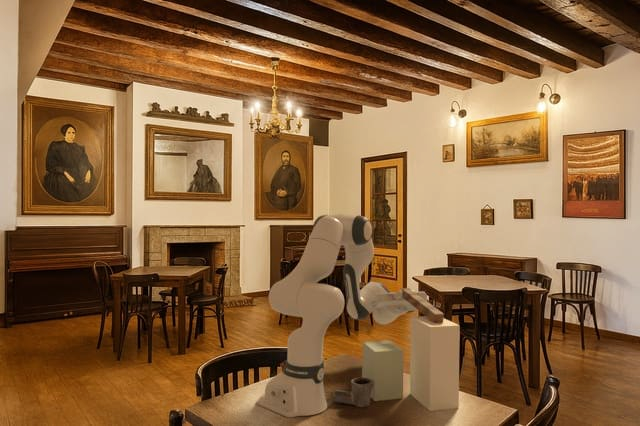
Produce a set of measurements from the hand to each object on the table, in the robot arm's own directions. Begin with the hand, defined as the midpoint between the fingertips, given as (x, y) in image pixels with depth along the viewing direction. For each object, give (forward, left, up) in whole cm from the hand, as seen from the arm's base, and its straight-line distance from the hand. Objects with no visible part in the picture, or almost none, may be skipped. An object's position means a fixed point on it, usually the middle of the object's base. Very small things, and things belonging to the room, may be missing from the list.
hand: (408, 292), depth 170 cm
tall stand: (+14, -14, -32) cm, 38 cm away
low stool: (-3, -17, -32) cm, 36 cm away
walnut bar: (+7, -7, -4) cm, 11 cm away
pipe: (-6, -31, -32) cm, 45 cm away
